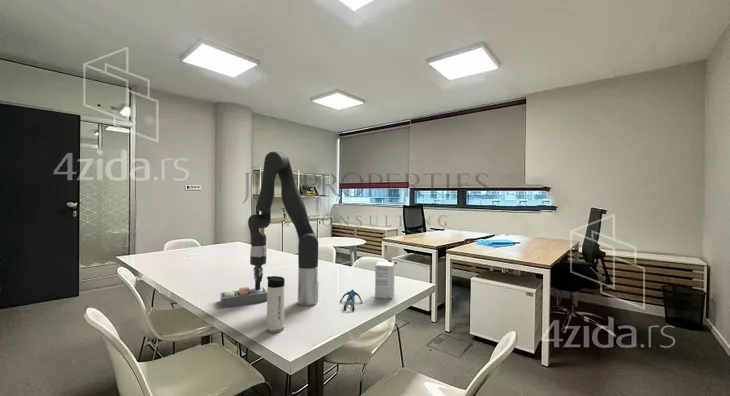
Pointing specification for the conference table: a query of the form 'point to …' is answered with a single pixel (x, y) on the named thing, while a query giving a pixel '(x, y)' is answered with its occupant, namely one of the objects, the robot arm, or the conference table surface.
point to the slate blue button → (257, 290)
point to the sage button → (229, 294)
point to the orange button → (243, 291)
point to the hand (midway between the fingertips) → (257, 289)
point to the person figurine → (350, 297)
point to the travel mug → (275, 304)
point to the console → (243, 298)
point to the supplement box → (384, 279)
